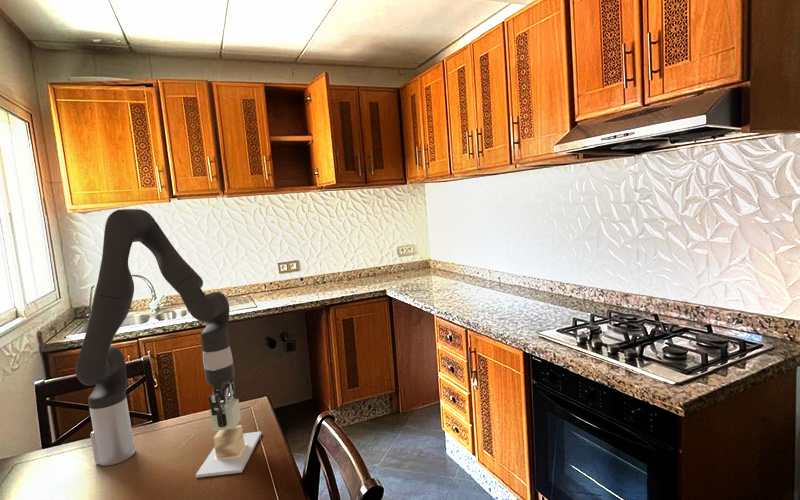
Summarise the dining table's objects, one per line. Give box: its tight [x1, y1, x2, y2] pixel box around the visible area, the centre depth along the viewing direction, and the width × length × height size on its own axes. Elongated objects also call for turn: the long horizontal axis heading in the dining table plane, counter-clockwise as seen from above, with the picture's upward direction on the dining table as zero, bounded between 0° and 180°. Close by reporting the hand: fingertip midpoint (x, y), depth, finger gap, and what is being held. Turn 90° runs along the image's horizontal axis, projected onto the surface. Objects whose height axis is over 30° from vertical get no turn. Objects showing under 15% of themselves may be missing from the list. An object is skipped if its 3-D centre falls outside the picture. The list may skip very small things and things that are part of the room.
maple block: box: [213, 424, 244, 458], centre depth 127 cm, size 6×6×6 cm
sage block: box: [209, 398, 242, 432], centre depth 127 cm, size 6×6×6 cm
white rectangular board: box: [195, 431, 262, 478], centre depth 128 cm, size 12×20×1 cm, turn 3°
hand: (226, 420), depth 127 cm, fingers closed on sage block, 6 cm apart
